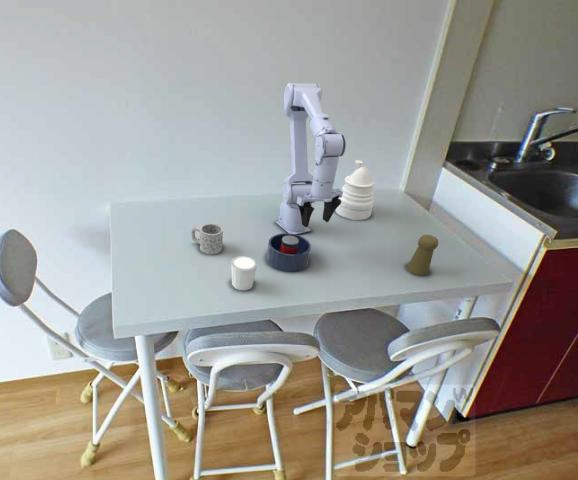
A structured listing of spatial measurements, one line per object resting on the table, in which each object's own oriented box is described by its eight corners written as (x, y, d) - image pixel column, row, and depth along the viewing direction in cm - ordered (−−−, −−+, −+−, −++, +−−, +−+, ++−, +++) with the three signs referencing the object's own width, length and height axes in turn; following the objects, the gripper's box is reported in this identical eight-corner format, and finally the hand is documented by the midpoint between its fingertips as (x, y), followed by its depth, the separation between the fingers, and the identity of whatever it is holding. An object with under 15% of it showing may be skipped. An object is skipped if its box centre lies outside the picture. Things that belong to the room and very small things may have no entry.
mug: (225, 246, 129) (226, 227, 125) (215, 256, 124) (216, 237, 120) (197, 237, 132) (197, 218, 128) (186, 247, 127) (186, 228, 123)
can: (276, 256, 125) (278, 237, 121) (289, 252, 127) (292, 233, 123) (285, 264, 122) (288, 245, 118) (299, 260, 124) (302, 242, 120)
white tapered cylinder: (228, 276, 117) (230, 255, 112) (253, 276, 117) (255, 255, 113) (230, 291, 111) (232, 270, 107) (256, 291, 112) (258, 270, 108)
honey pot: (328, 212, 151) (339, 163, 140) (343, 200, 160) (354, 153, 149) (362, 223, 145) (376, 173, 134) (375, 210, 154) (389, 162, 143)
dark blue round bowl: (259, 254, 127) (260, 238, 123) (292, 245, 131) (295, 230, 128) (281, 275, 118) (283, 259, 115) (316, 265, 123) (319, 249, 120)
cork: (429, 277, 122) (443, 244, 115) (408, 273, 122) (420, 241, 116) (426, 265, 126) (439, 233, 120) (405, 262, 127) (417, 230, 120)
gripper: (311, 188, 109) (303, 234, 117) (353, 180, 115) (343, 224, 123) (295, 178, 114) (288, 223, 122) (337, 171, 120) (328, 214, 128)
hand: (315, 223), depth 123 cm, fingers open, 7 cm apart
